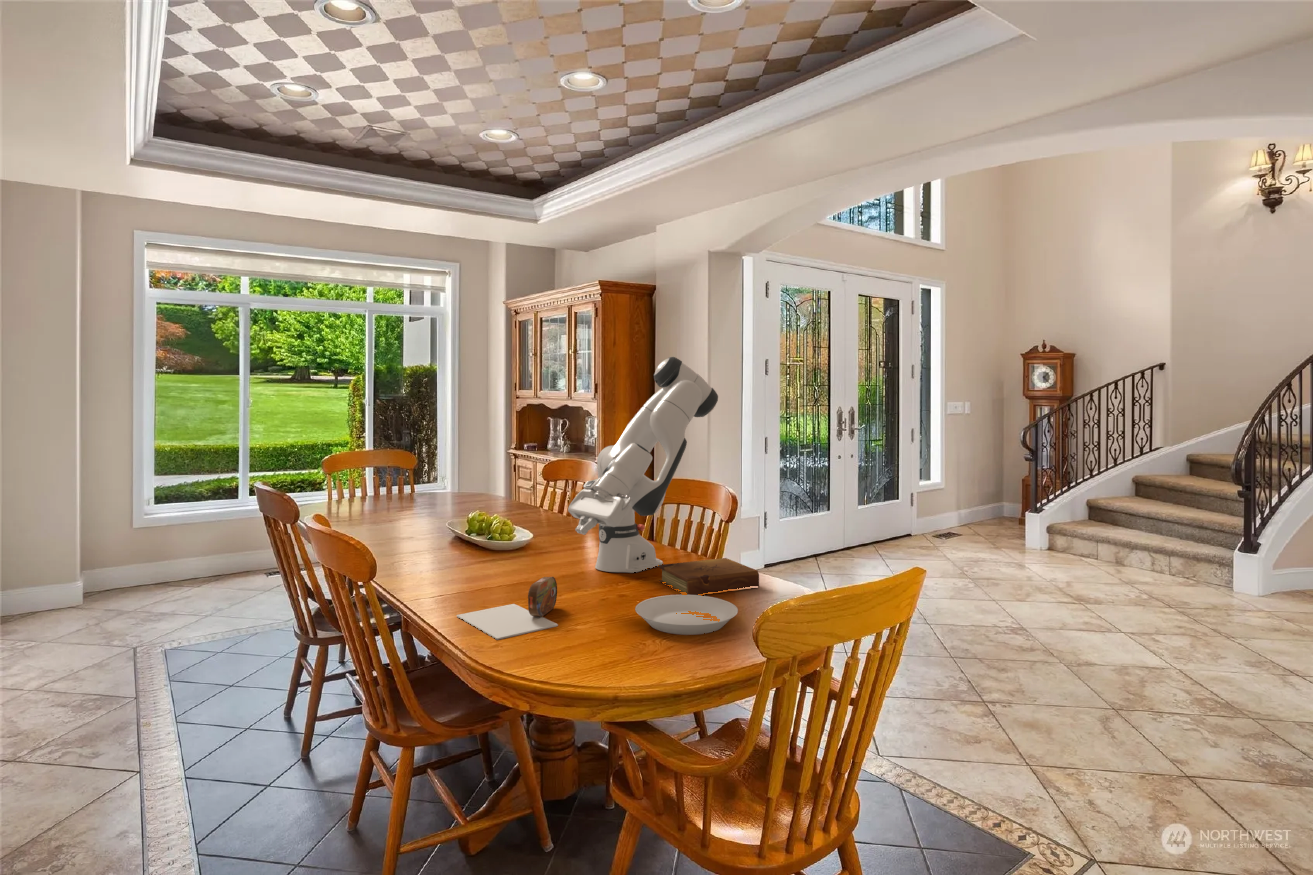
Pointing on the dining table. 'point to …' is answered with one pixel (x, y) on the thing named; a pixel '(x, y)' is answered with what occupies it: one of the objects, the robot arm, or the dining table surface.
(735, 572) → the diary
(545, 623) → the mat
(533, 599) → the tin
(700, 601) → the bowl
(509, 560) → the dining table surface
